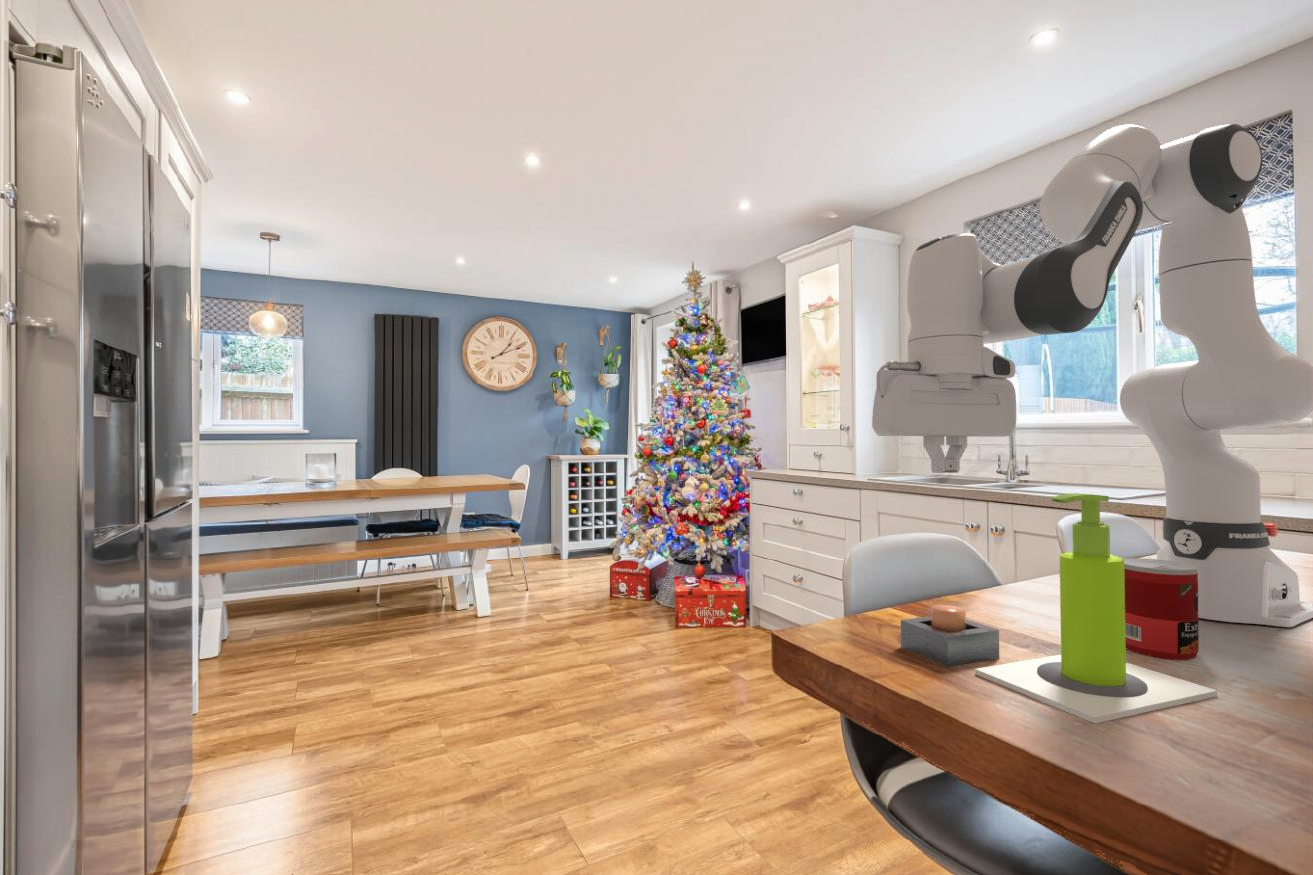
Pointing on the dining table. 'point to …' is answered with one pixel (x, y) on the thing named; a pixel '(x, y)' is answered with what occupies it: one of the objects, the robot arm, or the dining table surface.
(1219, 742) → the dining table surface
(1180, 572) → the canned food
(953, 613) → the button
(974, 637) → the button housing
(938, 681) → the dining table surface
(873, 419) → the robot arm
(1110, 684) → the soap dispenser
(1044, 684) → the white tray
